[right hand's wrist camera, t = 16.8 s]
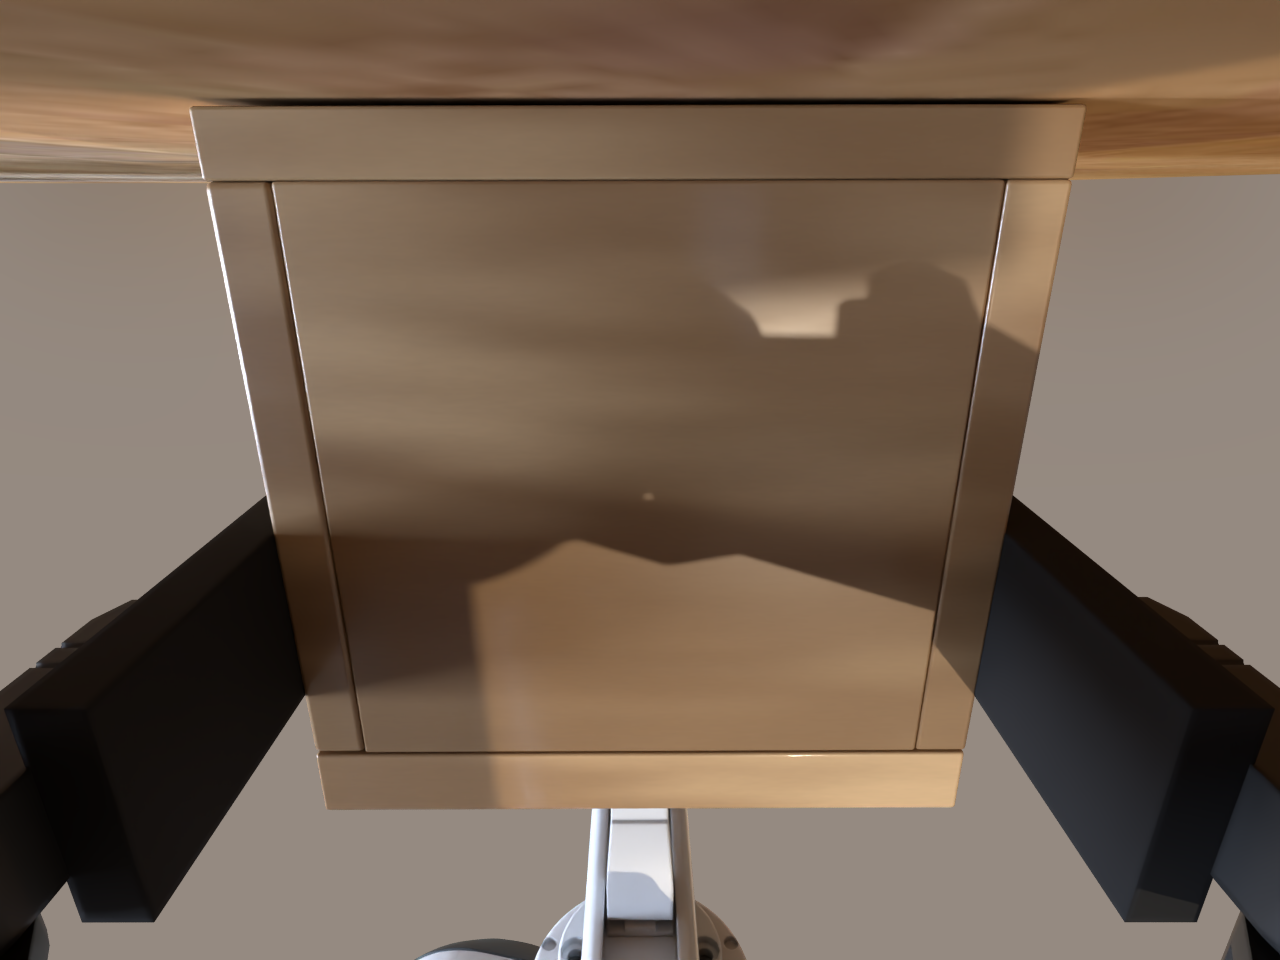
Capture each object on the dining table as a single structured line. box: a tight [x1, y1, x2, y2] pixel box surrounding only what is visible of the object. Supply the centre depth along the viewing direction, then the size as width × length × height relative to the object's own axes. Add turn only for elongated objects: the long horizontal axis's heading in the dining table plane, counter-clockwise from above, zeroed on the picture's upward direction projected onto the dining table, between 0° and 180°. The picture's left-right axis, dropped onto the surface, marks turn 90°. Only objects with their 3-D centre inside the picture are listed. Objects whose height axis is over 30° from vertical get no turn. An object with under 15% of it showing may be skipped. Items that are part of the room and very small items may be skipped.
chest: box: [189, 104, 1086, 752], centre depth 16 cm, size 13×10×9 cm
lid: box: [317, 747, 963, 810], centre depth 20 cm, size 14×10×9 cm
